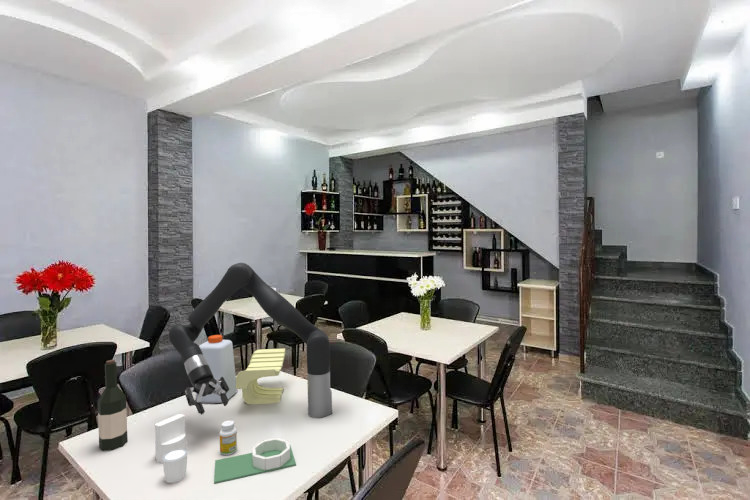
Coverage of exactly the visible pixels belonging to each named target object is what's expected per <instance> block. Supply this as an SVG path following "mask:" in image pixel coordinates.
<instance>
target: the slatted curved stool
mask: <svg viewBox="0 0 750 500" xmlns="http://www.w3.org/2000/svg"><path fill="white" fill-rule="evenodd" d="M285 356H286V348H270V349H268V348H267V349H266V348H264V349H256V350H255V351H253V353H252V354H251V358H250V360H249V363H248V366H247V368H246V369H245V370H241V371H239V372H238V373H237V375H236V389H237V390H241V392H242V394H241V395H242V396H241V397H242V399H243V401H244V402H245V403H246V404H248V405H264V404H267V405H268V404H279V403H280V401H281V398H282V396H283V393H284V387H265V386H261V385H260V384H259V383H258V380H259V379H261V378H268V377H277V376H279V375H280V373H281V371H282V368H283V367H284V364H283V363H284V362H285V361H284V360H285Z"/></svg>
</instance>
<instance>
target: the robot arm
mask: <svg viewBox="0 0 750 500" xmlns="http://www.w3.org/2000/svg"><path fill="white" fill-rule="evenodd" d="M241 288H242V289H244V290H245V291H246V292H248V293H249V294H250V296H252V297H253V298H254V299H255V300H256V302H257V304H259V306H260V308H261V309H262V310H263V312H264V313H265V314H266V315H267V316H269V317H270V318H271V319H272V320H273V321H274V322H275V323H277V324H278V325H279V326H282V327H284V328H285V329H287V330H289V331H290V332H292V333H294V334H295V335H296V336H297V337H298V338H299V339H301V340H302V341H303V342H304V344H305V345H306V370H307V371H306V372H307V373H306V374H307V375H306V376H307V377H306V378H307V414H308V416H309V417H312V418H314V419H315V418H319V419H320V418H324V417H327V416H329V415H331V414H333V396H332V395H333V392H332V389H331V369H330V368H331V345H330V344H331V342H330V338H329V336H328V335H327V333H325V331H323V330H322V329H320V328H319V327H317V326H316V325H315V324H313V323H311V322H310V321H309V320H308V319H307V318H306V317H305V316H304V315H303V314H302V313H301V311H299V310H298V309H297V308H296V307H295V306H294V305H293V304H292V303H291V302H289V300H287V299H286V298H285V297H284V296H283V295H281V294H280V293H279V292H278V291H277V290H275V289H274V288H273V287H272V286H270V285H269V284H267V283H266V282H265V281H264V280H263V279H262V278H261V277H260V276H259V275H258V273H256V271H255V270H254V269H253V268H252V267H251V266H250V265H249V264H247V263H245V262H238V263H235V264H233V265H230V266H229V268H228V269H227V270H226V272H225V274H224V275H223V276H222V278H221V279H220V281H219V282H218V284H217V285H216V286H215V287H214V288H213V290H212V291H210V293H208V295H207V296H205V298H204V299H203V300H201V301H200V303H199V304H197V306H196V307H195V308H194V309H193V310H192V311H191V312H190V313H189V315H188V322H189V324H188V325H185V324H181V323H180V324H179V323H178V324H174V325H172V327H171V326H170V327H171V328H170V329H169V330H168V339H169V342H170V344H171V346H173V348H174V349H175V350H176V351H177V352H178V354H179V355H180V357H181V359H182V362H183V364H184V368H185V369H184V370H185V371H186V374H187V377H188V379H189V381H190V384H191V386H192V387H190V386H187V387H186V389H185V390H184V394H185V398H186V399H185V400H186V403H188V406H189V407H192V406H195V408H196V410H197V413H198V414H200V415H201V416H202V415H204V414H205V412H206V411H205V408H204V405H203V403H201V402H200V400H201V397H202V396H203V397H204V396H206V395H210V394H212V393H213V394H215V395H216V394H217V395H219V396H220V398H221V400H222V405H223V406H224V407H226V406H227V405H229V404H228V403H229V399H228V398H227V396H226V393H227V392H228V391H229V387H228V385H227V383H226V381H225V380H224V378H223V377H221V378H220V379H217V380H215V379H214V377H213V374H212V372H211V369H210V367H209V365H208V363H207V360H206V359H205V357H204V355H203V353H202V351H201V349H200V347H199V346H200V345H199V344H198V343H196V342H195V341H196V340H197V339H198V337H199V336H200V335H201V332H202V330H203V329H204V328H205V325H206V324H207V323H209V321H210V320H211V319H212V318H213V316H215V314H216V313H217V312H218V311H219V309H220V308H221V307H222V306H223V304H224V303H225V302H226V301H227V300H228V299H229V298H231V296H232V295H233V294H234V293H235V292H237V291H238V290H239V289H241ZM216 384H218V385H220V386H221V388H222V389H221V388H220V387H219V386H217V385H216ZM215 389H216V390H215ZM193 393H195V394H196V393H197V397H196V396H195V399H194V395H193Z"/></svg>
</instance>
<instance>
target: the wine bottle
mask: <svg viewBox="0 0 750 500" xmlns="http://www.w3.org/2000/svg"><path fill="white" fill-rule="evenodd" d="M117 369H118V366H117V362H116V360H115V359H110V360H106V362H105V363H104V377H105V379H104V382H105V385H104V386H105V388H104V389H103V391H102V393H101V395H100V396H99V397H98V399H97V423H98V425H97V427H98V448H99V450H100V451H101V452H110V451H114V450H117V449H120V448H123V447H124V446H125V445H126V444H127V443H128V442H129V441H128V440H129V439H128V415H127V414H128V413H127V395H126V394H125V393H124V392H123V391H122V389H120V387H119V386H118V372H117V371H118V370H117Z"/></svg>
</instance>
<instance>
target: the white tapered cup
mask: <svg viewBox="0 0 750 500" xmlns="http://www.w3.org/2000/svg"><path fill="white" fill-rule="evenodd" d="M162 460H163V463H162V467H163V474H164V480H165V482H166V483H168V484H173V483H174V484H175V483H178V482H180V481H182V480H184V479H185V478H186V476H187V466H188V465H187V464H188V450H187V449H186V450H185V449H175V450H172V451H169V452H168V453H166V454H165V455H164V456H163V458H162Z"/></svg>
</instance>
